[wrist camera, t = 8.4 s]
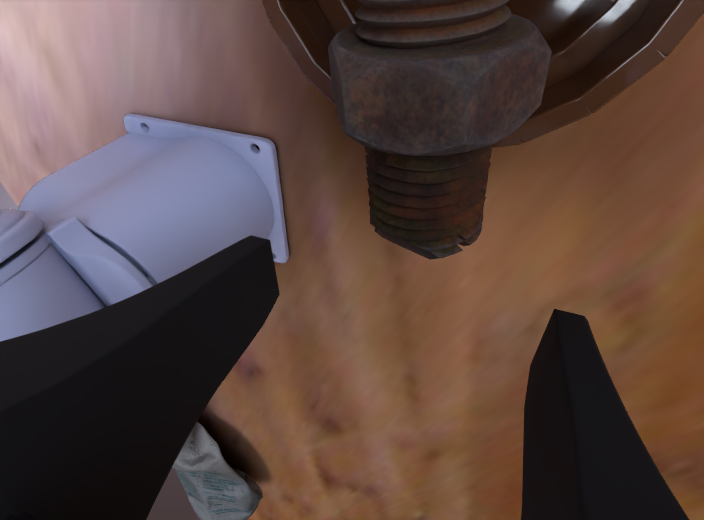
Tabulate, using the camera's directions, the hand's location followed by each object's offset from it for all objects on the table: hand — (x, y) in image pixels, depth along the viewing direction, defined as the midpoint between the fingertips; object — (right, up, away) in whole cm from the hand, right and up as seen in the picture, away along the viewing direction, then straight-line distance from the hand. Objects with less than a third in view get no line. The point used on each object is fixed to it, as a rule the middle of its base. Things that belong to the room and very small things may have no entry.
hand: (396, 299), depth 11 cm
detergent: (-18, -18, +39) cm, 47 cm away
